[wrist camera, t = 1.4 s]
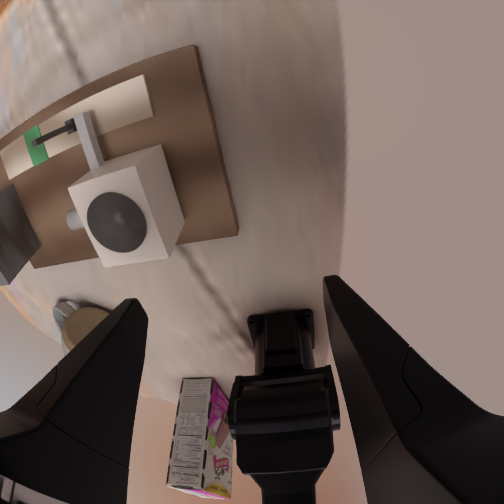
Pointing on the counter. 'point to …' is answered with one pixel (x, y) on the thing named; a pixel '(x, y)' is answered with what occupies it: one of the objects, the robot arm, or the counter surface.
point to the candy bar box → (201, 441)
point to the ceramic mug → (76, 323)
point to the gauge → (125, 203)
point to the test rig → (112, 146)
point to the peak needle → (57, 132)
